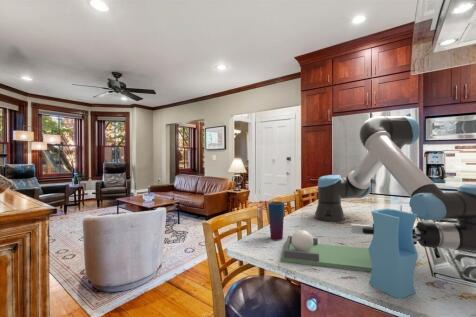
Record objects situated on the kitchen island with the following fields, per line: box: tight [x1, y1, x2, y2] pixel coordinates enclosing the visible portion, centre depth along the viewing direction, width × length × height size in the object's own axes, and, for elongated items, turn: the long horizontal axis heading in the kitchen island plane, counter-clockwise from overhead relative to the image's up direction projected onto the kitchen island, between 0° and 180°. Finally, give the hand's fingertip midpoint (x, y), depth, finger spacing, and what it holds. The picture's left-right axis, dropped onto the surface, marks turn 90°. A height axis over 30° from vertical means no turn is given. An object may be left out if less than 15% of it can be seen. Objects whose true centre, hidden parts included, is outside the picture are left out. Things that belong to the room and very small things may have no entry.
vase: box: [368, 208, 419, 300], centre depth 62 cm, size 8×8×20 cm
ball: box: [291, 229, 314, 252], centre depth 83 cm, size 8×8×8 cm
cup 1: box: [267, 201, 285, 241], centre depth 100 cm, size 7×7×15 cm
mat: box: [280, 240, 372, 273], centre depth 82 cm, size 34×16×1 cm, turn 73°
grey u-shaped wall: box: [284, 235, 319, 261], centre depth 85 cm, size 11×15×2 cm
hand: (351, 228), depth 79 cm, fingers closed
